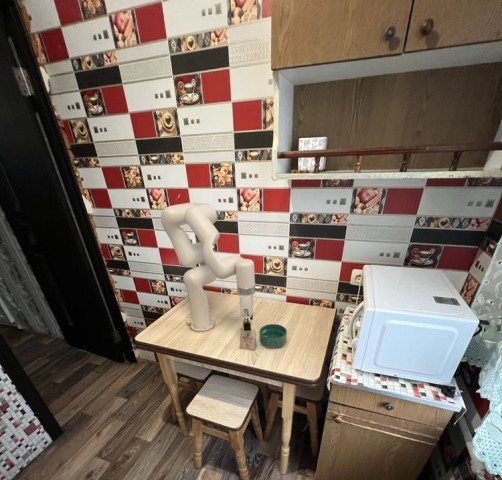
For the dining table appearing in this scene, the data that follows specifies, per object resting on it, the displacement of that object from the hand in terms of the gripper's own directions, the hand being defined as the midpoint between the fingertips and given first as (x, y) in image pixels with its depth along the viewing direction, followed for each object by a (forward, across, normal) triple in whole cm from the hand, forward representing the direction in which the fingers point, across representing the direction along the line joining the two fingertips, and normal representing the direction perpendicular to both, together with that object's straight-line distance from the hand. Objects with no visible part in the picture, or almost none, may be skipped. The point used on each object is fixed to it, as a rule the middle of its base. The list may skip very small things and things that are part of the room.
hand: (248, 324), depth 125 cm
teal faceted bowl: (+13, -5, +11) cm, 18 cm away
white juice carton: (+13, 0, -1) cm, 13 cm away
